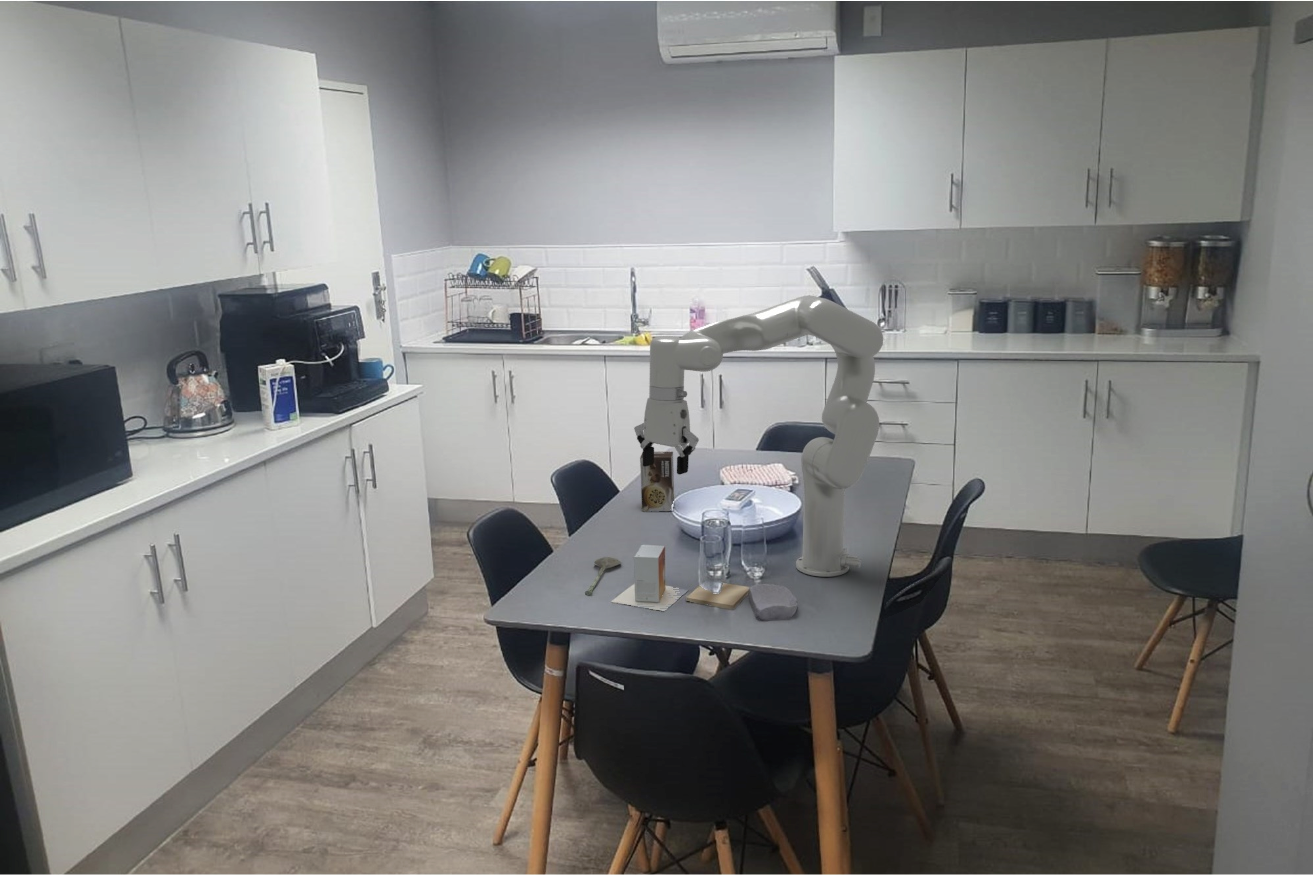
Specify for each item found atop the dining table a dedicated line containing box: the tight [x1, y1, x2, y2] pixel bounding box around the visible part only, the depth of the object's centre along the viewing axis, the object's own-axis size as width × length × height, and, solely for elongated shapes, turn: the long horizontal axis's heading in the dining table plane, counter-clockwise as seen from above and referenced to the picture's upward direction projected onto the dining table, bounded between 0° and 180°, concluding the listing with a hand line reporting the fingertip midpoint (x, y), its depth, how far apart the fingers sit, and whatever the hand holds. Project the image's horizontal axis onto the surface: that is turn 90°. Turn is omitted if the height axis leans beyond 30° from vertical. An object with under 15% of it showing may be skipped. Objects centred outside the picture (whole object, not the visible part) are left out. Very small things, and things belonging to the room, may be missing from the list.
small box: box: [633, 544, 666, 602], centre depth 218 cm, size 8×6×10 cm
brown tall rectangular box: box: [639, 451, 675, 513], centre depth 280 cm, size 9×6×16 cm
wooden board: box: [685, 582, 751, 611], centre depth 219 cm, size 11×11×1 cm
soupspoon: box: [584, 556, 622, 596], centre depth 231 cm, size 22×3×7 cm
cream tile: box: [610, 583, 682, 612], centre depth 220 cm, size 13×13×1 cm
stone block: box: [748, 583, 798, 622], centre depth 212 cm, size 12×5×10 cm
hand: (665, 469), depth 219 cm, fingers open, 9 cm apart
